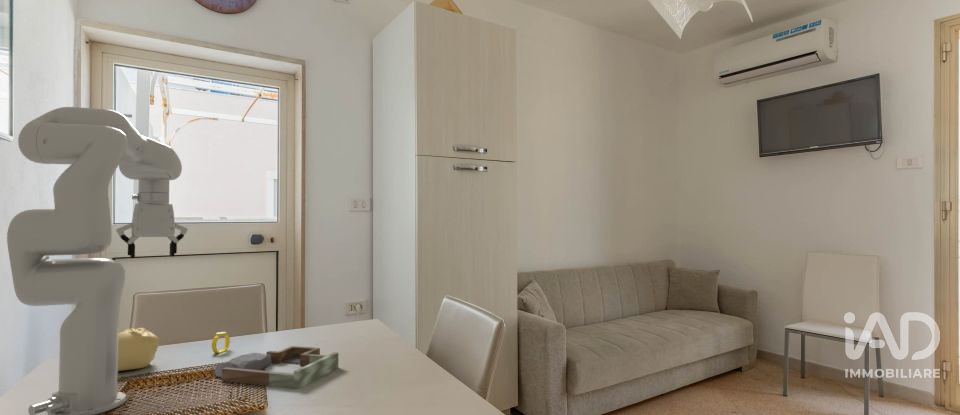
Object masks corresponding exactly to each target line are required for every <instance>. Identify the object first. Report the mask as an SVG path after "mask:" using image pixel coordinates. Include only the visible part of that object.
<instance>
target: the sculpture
mask: <svg viewBox="0 0 960 415" xmlns="http://www.w3.org/2000/svg"><path fill="white" fill-rule="evenodd" d="M159 342H160V340H159V337H158V336H157V335H155V334H154V333H153V332H151V331H149V330H147V329H146V328H145V327H138V328H133V327H131V328H125V329H124V331H120V332H118V372H120V371H121V372H122V371H130V370H138V369H143V368H146V367H148V366H149V364H150V363H151V362H152V361H154V359H155V358H156V352H157V351H158V347H159Z"/></svg>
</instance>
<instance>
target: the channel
mask: <svg viewBox="0 0 960 415" xmlns="http://www.w3.org/2000/svg"><path fill="white" fill-rule="evenodd" d="M267 354H270V355H271V364H274V365H278V364H282V361H285V360H287V359H290V358H292V357H300V364H299V366H300V368H297V369H296V370H293V373H291V372H282V371H273V370H272V371H269V370H263V369H261V370H251V369H240V368H229V367H225V368H222V377H221V381H222V382H228V383H229V382H230V383H237V384H250V385H260V386H267V387H268V386H269V387H278V388H286V389H287V388H288V389H295V390H298V389H301V388H303V387H304V386H306V385H308V384H310V383H312V382H314V381H315V380H318V379H320V378H322V377H323V376H325V375H327V374H328V373H330V372H333V371H335V370H337V369H338V368H339V352H338V351H337V352H335V351H334V352H332V353H330V354H327V355H326V354H325V355H324V354H321V348H320V347H312V346H309V347H308V346H299V345H298V346H297V345H291V346H288V347H286V348H284V349H281V350H279V351H277V350H276V351H275V350H269V351H266V355H267Z"/></svg>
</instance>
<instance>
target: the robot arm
mask: <svg viewBox="0 0 960 415" xmlns="http://www.w3.org/2000/svg"><path fill="white" fill-rule="evenodd" d="M17 142H18V148H19V149H18V150H19V151H20V153H21V154H22V156H24V157H25V158H26V160H28V161H31V162H33V163H37V164H44V165H69V166H68V167H67V168H66V169H65V170H64V171H63V172H62V173H61V174H59V177H58V178H57V179H56V180H55V182H54V184H53V188H52V191H53V192H52V193H53V203H54V204H53V205H54V208H51V209H50V208H48V209H47V208H38V209H37V208H35V209H34V208H33V209H28V210H24V211H21V212H18V213H17V214H16V215H15V216H13V218H12V219H11V221H10V222H9V225H8V227H7V231H6V232H7V233H6V243H7V252H8V257H9V263H10V264H9V265H10V270H11V277H12V284H13V289H14V292H15V295H16V298H17V299H18V300H19V302H20V303H22V304H24V305H26V306H33V307H35V306H36V307H43V306H44V307H45V306H60V305H61V306H62V305H76V306H75V308H74V309H73V310H72V311H71V313H69V314H68V316H67V317H66V318H65V319H64V320H63V321H62V324H61V326H60V329H59V358H58V360H59V364H58V365H59V366H58V370H59V371H58V391H55V392H52V393H51V394H52V396H51V397H50V398H48V399H47V400H45V401H43V402H37V403H35V404H32V405H30V406H29V407H28V410H27V411H28V414H29V415H38V414H40V413H44V412H46V413H47V415H98V414H103V413H106V412H108V411H111V410H113V409H115V408H118V407H119V406H122V405H123V404H125V402H126V400H127V394H126V393H124V392H120V391H118V373H119V371H118V333H119V321H120V309H121V308H120V305H121V299H122V296H123V295H122V294H123V289H124V287H125V281H126V271H125V268H124V266H123V265H122V264H121V263H120V261H116V260H114V259H111V258H110V259H109V258H105V257H103V258H102V257H85V258H84V257H83V258H81V257H80V258H79V257H77V258H62V259H61V258H59V259H58V258H57V259H50V256H74V255H75V256H77V255H78V256H79V255H93V254H97V253H98V254H99V253H102V252H104V251H106V250H108V248H109V247H110V245H111V243H112V236H113V235H112V223H111V222H112V220H111V210H110V200H109V187H110V182H111V180H112V177H113V175H115V172H116V170H117V168H118V169H119V171H120V173H121V174H122V176H124V177H125V178H127V179H129V180H134V181H135V180H137V181H138V188H137V189H138V192H137V193H136V194H132V195H131V199H132V200H134V201H137V203H135V204H134V207H133V213H132V221H131V223H128V224H126V225H123V226H120V227H118V228H116V230H115V231H116V233H117V235H118V236H119V238H120V239H121V240H122V241H123V242H125V243H126V244H127V256H130V257H129V258H130V259H134V258H136V244H135V241H136V240H137V239H138V238H168V240H169V241H170V243H169V256H170V257H175V254H177V252H178V251H177V250H178V247H177V246H178V243H179V242H180V241H181V240H182V239H183V238H184V236H186V234H187V232H188V228H187V227H184V226H182V225H180V224H178V223H175V212H174V206H173V204H172V203H170V181H174V180H177V179H178V178H179V177H180V176H181V174H182V170H183V168H182V167H183V165H182V162H181V159H180V157H179V155H178V154H177V153H176V151H175V150H174V149H173V148H172V146H169V145H168V144H165V143H163V142H160V141H158V140H155V139H152V138H150V137H148V136H144V135H141V134H140V132H139V131H138V130H137V129H136V128H135V126H134V125H133V124H132V123H131V121H129V119H128V118H127V117H126V116H125V115H124V114H122V113H120V112H119V111H115V110H113V109H108V108H96V107H95V108H93V107H75V106H63V107H58V108H54V109H53V110H50V111H47V112H45V113H43V114H42V115H40V116H38V117H36V118H34V119H32V120H31V121H29V122H27V123H26V124H25V125H24V126H23V127H22V128H21V130H20V132H19V135H18V137H17ZM130 229H131V236H130V237H128V236H127V235H126V234H125V231H127V230H130ZM175 229H176V230H178V231H180V232H179V233H178V235H176V236H175Z"/></svg>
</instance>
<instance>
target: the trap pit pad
mask: <svg viewBox="0 0 960 415" xmlns="http://www.w3.org/2000/svg"><path fill="white" fill-rule="evenodd" d="M282 363H284V364H294V365H300V357H292V358H290V359H287V360H285V361H282ZM282 363H281V364H282Z"/></svg>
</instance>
